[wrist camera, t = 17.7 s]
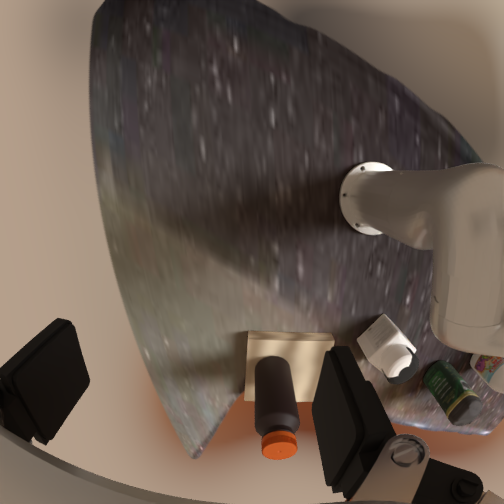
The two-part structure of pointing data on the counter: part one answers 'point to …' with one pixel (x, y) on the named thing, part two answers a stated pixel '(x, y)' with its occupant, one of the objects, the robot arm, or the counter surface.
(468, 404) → the coffee jar
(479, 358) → the milk bottle
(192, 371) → the counter surface
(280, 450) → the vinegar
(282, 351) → the plate
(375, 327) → the container
